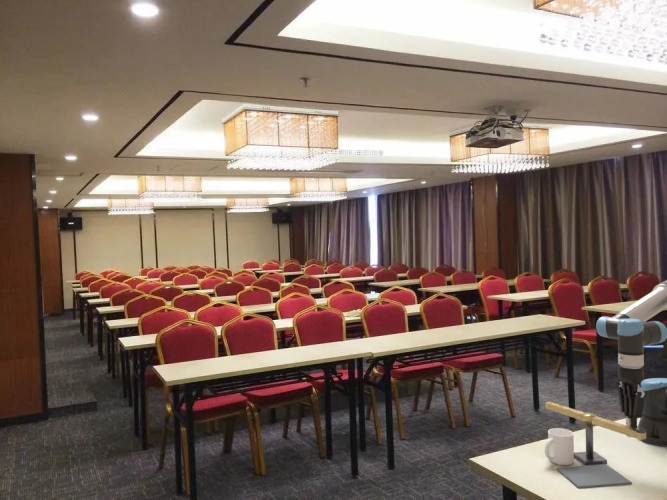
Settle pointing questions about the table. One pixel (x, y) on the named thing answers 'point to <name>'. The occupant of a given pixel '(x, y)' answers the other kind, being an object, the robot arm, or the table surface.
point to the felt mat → (593, 476)
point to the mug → (560, 446)
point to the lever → (598, 421)
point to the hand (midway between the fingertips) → (631, 436)
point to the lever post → (589, 450)
